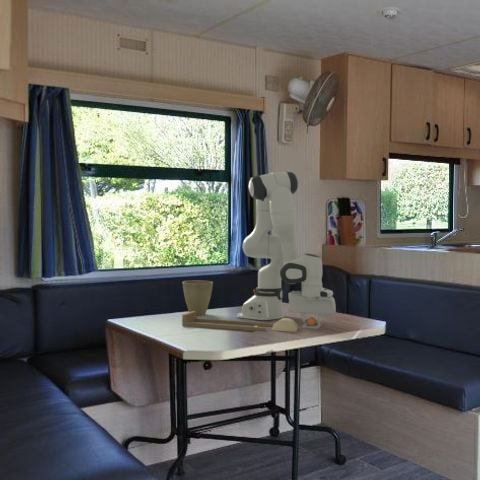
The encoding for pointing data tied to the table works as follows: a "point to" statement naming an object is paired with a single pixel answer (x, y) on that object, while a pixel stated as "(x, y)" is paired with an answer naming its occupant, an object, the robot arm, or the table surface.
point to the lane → (237, 324)
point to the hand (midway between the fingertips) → (311, 323)
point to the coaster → (311, 326)
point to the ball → (311, 321)
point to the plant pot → (197, 295)
